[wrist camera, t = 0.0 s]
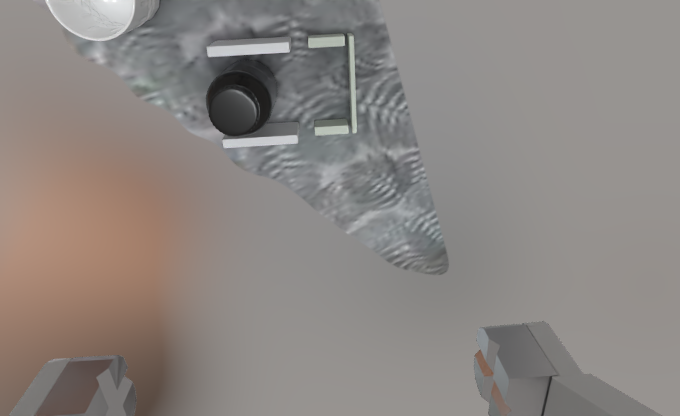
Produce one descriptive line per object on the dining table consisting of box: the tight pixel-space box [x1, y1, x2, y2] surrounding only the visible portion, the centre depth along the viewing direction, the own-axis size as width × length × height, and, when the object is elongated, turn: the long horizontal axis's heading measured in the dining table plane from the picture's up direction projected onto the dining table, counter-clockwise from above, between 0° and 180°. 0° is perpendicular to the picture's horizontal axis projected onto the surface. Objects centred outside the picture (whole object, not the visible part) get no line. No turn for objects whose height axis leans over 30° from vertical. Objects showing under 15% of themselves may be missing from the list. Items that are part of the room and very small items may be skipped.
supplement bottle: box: [206, 60, 278, 137], centre depth 49 cm, size 7×7×12 cm
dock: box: [308, 33, 357, 136], centre depth 54 cm, size 11×5×3 cm, turn 3°
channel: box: [207, 36, 299, 148], centre depth 52 cm, size 11×8×6 cm
